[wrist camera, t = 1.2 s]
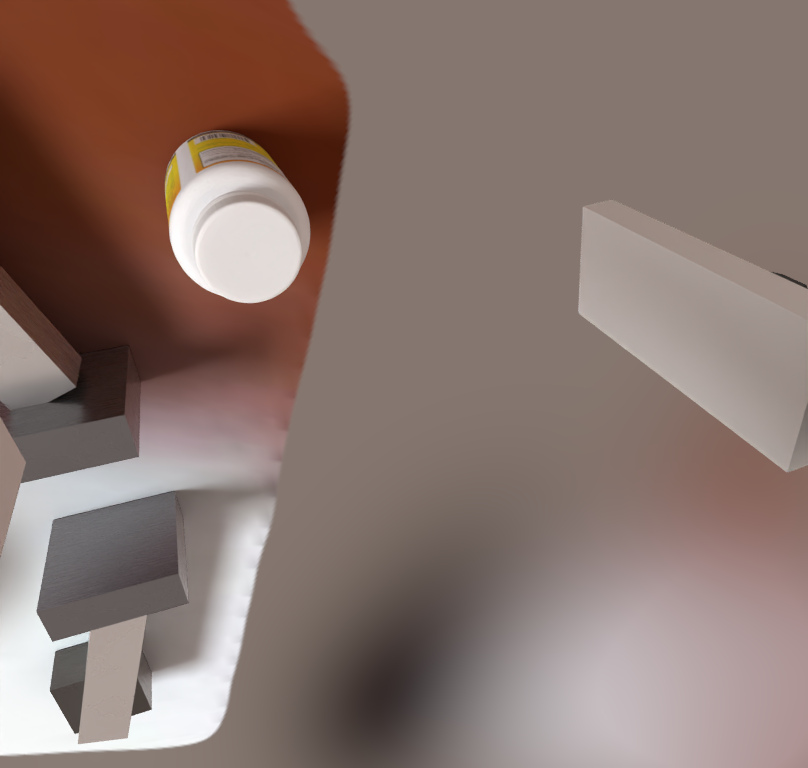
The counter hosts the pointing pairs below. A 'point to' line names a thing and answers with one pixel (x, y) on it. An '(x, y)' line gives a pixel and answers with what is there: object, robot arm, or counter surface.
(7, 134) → the counter surface
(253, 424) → the counter surface
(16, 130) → the counter surface
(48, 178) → the counter surface
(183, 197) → the supplement bottle
